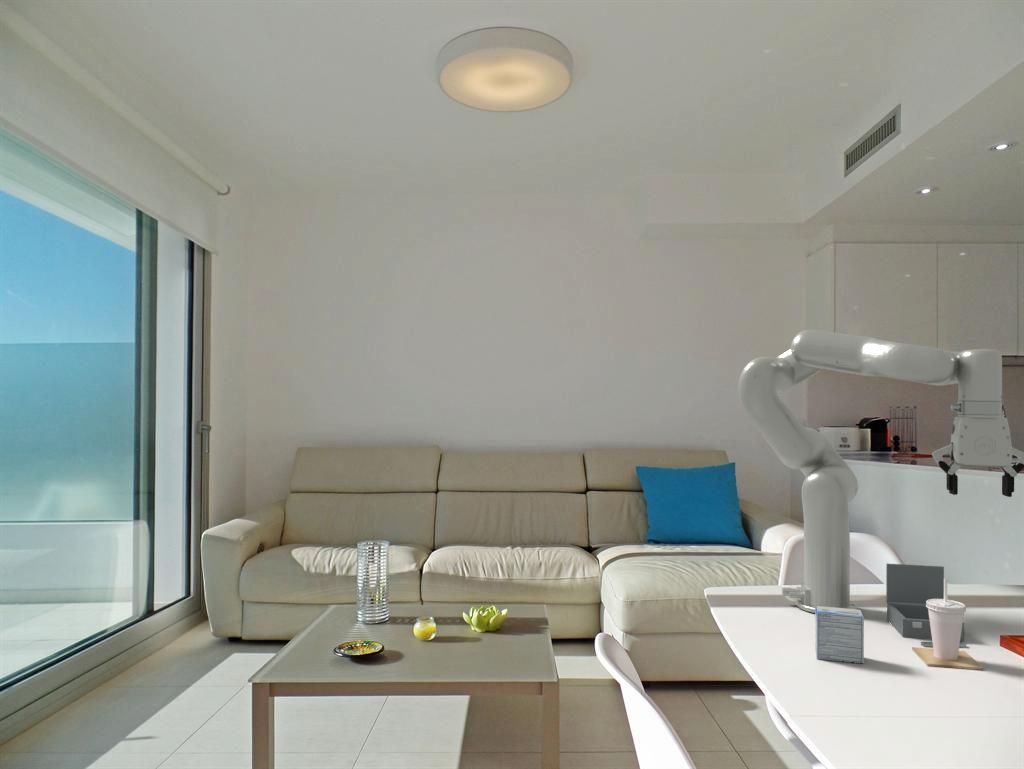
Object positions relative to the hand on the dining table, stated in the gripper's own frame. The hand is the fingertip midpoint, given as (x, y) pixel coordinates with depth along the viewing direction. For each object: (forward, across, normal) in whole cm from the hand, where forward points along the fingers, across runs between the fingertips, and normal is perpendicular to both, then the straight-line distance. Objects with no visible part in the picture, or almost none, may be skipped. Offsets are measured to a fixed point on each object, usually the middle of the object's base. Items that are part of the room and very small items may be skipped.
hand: (979, 494), depth 153 cm
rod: (+28, -10, -11) cm, 32 cm away
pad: (+28, -11, -19) cm, 35 cm away
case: (+28, -10, -1) cm, 30 cm away
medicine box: (+28, -30, -23) cm, 47 cm away
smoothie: (+28, -11, -18) cm, 35 cm away
